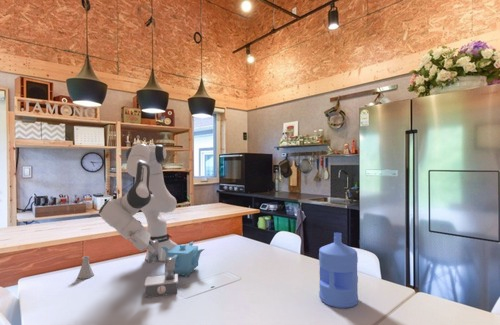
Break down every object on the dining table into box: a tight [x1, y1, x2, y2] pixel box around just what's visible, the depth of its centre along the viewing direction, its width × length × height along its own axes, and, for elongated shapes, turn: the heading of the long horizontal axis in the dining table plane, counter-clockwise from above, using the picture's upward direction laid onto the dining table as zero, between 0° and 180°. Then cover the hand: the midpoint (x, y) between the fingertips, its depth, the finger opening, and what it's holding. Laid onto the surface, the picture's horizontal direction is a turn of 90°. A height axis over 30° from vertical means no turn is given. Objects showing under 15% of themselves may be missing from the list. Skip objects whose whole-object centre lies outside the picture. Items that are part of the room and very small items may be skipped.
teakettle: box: [161, 241, 206, 278], centre depth 151 cm, size 19×19×15 cm
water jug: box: [318, 232, 359, 309], centre depth 120 cm, size 16×16×28 cm
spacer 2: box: [164, 257, 175, 280], centre depth 129 cm, size 4×4×9 cm
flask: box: [77, 255, 95, 280], centre depth 146 cm, size 7×7×10 cm
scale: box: [144, 274, 179, 298], centre depth 128 cm, size 14×9×6 cm, turn 105°
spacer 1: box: [147, 240, 159, 264], centre depth 127 cm, size 4×4×9 cm
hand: (154, 249), depth 128 cm, fingers closed on spacer 1, 4 cm apart
